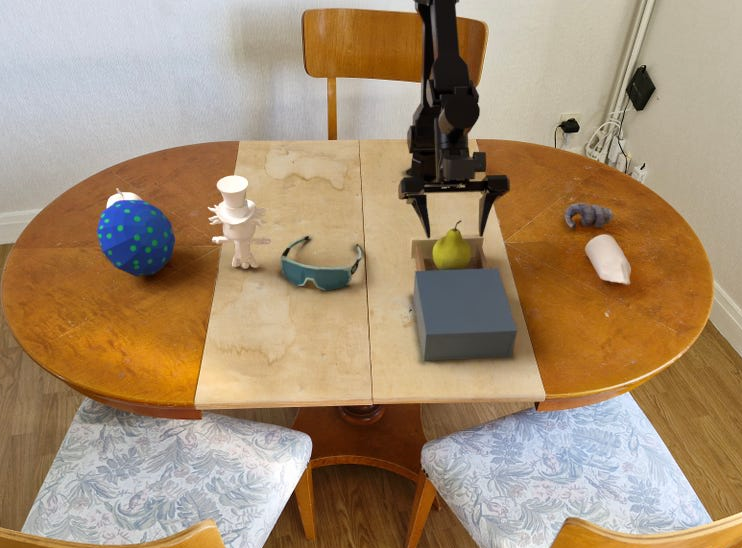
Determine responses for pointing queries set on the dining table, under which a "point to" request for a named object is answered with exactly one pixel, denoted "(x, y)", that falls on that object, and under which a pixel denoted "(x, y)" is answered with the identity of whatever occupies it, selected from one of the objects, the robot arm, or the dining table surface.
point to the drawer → (424, 252)
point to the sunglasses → (317, 271)
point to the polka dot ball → (136, 237)
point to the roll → (608, 259)
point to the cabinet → (463, 314)
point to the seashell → (588, 215)
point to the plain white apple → (122, 197)
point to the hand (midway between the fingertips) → (455, 237)
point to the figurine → (238, 219)
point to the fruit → (452, 251)
